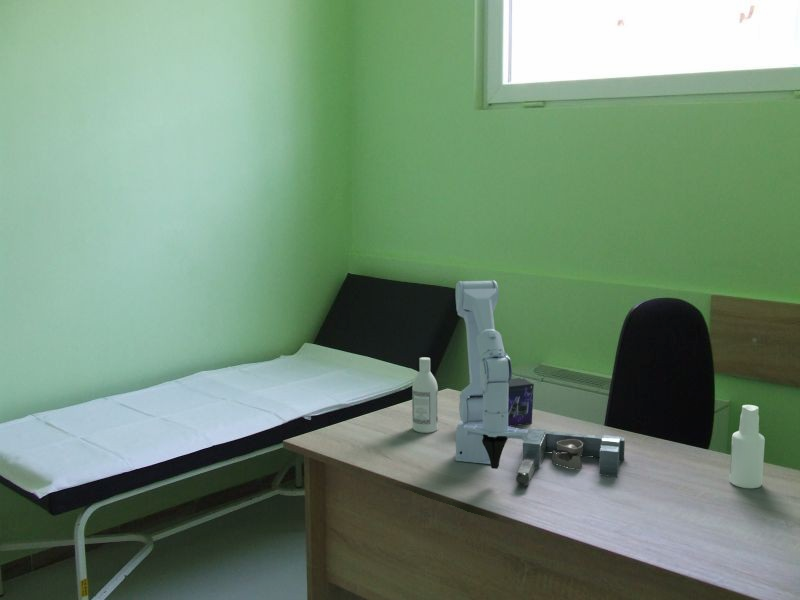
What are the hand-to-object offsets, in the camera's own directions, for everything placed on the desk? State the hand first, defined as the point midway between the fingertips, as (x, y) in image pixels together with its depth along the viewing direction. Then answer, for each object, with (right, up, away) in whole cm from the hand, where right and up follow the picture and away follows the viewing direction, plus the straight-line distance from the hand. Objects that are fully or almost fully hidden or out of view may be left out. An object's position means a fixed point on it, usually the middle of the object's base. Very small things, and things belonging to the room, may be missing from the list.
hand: (495, 467), depth 188 cm
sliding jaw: (+9, -2, +8) cm, 12 cm away
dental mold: (+20, -2, +12) cm, 23 cm away
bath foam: (-15, +2, +38) cm, 41 cm away
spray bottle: (+57, -4, -1) cm, 57 cm away
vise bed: (+20, -1, +13) cm, 24 cm away
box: (+6, +3, +42) cm, 42 cm away
